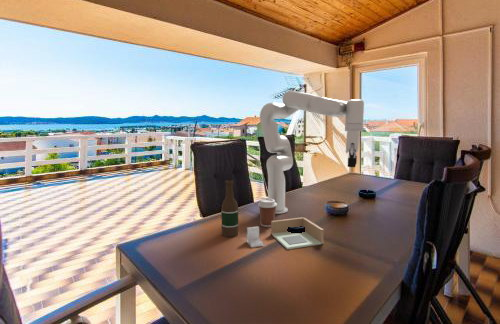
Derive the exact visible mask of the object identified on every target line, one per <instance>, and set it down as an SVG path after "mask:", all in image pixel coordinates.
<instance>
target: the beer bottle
mask: <svg viewBox="0 0 500 324" xmlns="http://www.w3.org/2000/svg"><path fill="white" fill-rule="evenodd" d="M224 183H225V197H224V199H223V201H222V204H221V212H220V213H221V236H222V237H226V238H234V237H236V236H237V237H238V236H239V207H238V206H239V205H238V202H237V200H236V199H235V195H234V194H235V193H234V180H233V179H226V180H225V182H224Z"/></svg>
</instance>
